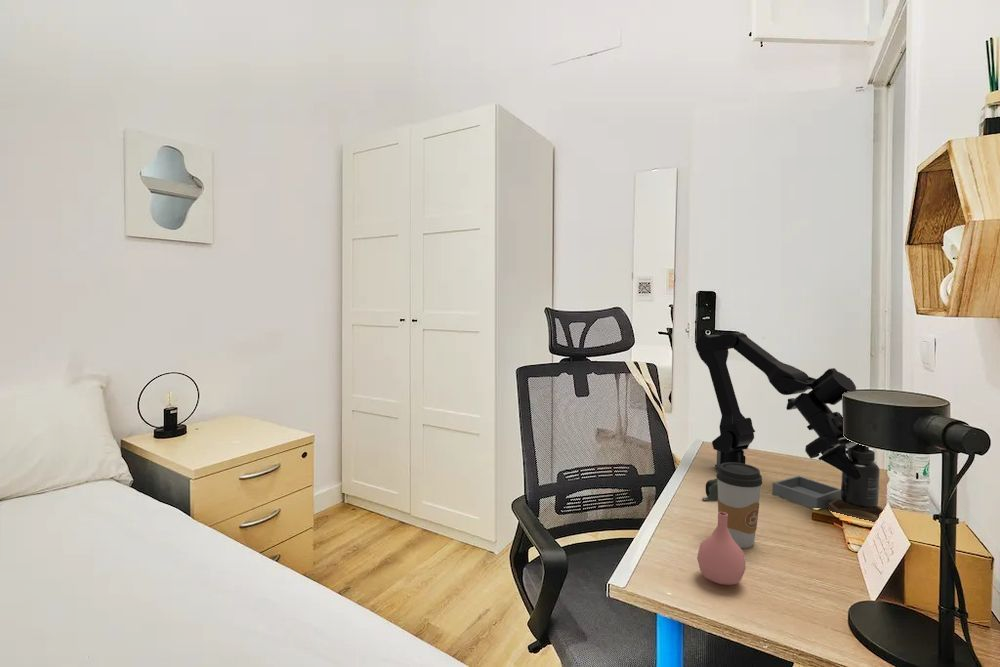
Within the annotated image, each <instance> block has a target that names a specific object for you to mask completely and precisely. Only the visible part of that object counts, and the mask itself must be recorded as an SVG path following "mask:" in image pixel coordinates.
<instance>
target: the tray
mask: <svg viewBox="0 0 1000 667" xmlns="http://www.w3.org/2000/svg"><path fill="white" fill-rule="evenodd" d="M771 494H772V495H773V496H776V497H778V498H781V499H784V500H786V501H789V502H792V503H794V504H797V505H800V506H802V507H805V508H808V509H811V510H813V508H823V509H825V508H828V503H829V502H831V501H832V500H834V499H841V488H838V487H835V486H831V485H829V484H825V483H822V482H819V481H818V480H817V481H816V480H814V479H810V478H807V477H804V476H800V475H795V476H793V477H789V478H785V479H782V480H778V481H774V482H772V493H771Z"/></svg>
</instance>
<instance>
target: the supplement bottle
mask: <svg viewBox="0 0 1000 667" xmlns="http://www.w3.org/2000/svg"><path fill="white" fill-rule="evenodd" d="M847 450H848V455H847V456H848V458H849V459H850V461H851V462H852V464H853V465H854V467H855V468H856V470H857V471H858V473H859V475H860V477H861V478H859V479H857V480H856V479H854V478H852V477H851V476H849V475H847V474H846V473H844V472H842V471H841V480H840V481H841V488H840V489H841V499H842V500H843V501H844V502H845V503H847V504H850V505H853V506H856V507H861V508H874V507H876V506H877V505H878V506H879V495H880V475H881V474H880V473H881V472H880V471H881V470H880V467H879V466H878V465H877V463H876V464H875V463H874V462H873V461H875V459H876V458H875V455H876V454H875V451H872V450H869V449H865V448H856V447H852V448H849V449H847Z"/></svg>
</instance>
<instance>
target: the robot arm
mask: <svg viewBox="0 0 1000 667" xmlns="http://www.w3.org/2000/svg"><path fill="white" fill-rule="evenodd" d="M695 349H696V351H697V355H698V356H699V358H700V360H701V361H702V362H703V363H704V364H705V366H706V367H707V368H708V371H709V375H710V378H711V379H710V380H711V382H712V386H713V389H714V390H713V391H714V393H715V396H716V399H717V403H718V406H719V407H718V408H719V410H720V414H721V418H720V422H719V434H720V435H718V436H717V437H715V438H714V440H712V441H711V444H712V448H713V450H714V451H716V464H714V466H713V467H714V468H716V470H718V469H719V466H720V464H722V463H727V462H735V463H743V464H746V460H747V458H746V456H745V455H744V454H745V451H744V450H748V449H749V446H750V445H751V444H752V443H753V441H754V440H755V433H756V430H755V429H754V426H753V422H752V418H751V417H745V416H744V415H743V414H742V413H741V409H740V406H739V403H738V400H737V396H736V392H735V390H734V389H735V388H734V385H733V382H732V380H731V379H732V378H731V375H730V372H729V369H728V365H727V361H728V357H729V350H731V349H733V350H735V351H736V352H737V353H739V354H740V355H741V356H742V357H744V358H745V359H746V360H747V361H749V362H750V363H751V364H753V365H754V366H755V367H756V368H757V369H759V370H760V371H761V372H762V373H763V374H765V376H766V377H767V380H768V382H769V383H770V384H771V386H772V387H773V388H774V389H775V390H776V391H777V392H778V393H780V394H781V395H783V396H791V395H797V394H799V395H798V396H796V397H795V398H791V397H790V398H788V399H787V404H786V407H785V408H786V410H787V411H790V410H796V409H797V411H798V412H799V413H800V414H801V415H802V417H803V418H804V420H805V421H806V422H807V424H808V425H807V426H806V428H807V429H808V430H809V431H814V432H815V433H816V435H817V436H818V437H817V438H815V439H814V440H812V441H810V442H809V443H808V444H806V445H805V450H804V452H805V453H806V454H807V456H808V457H809V459H815V458H817V459H818V460H819V461H823V462H824V463H827V464H829V465H830V466H832V467H834V468H836V469H837V470H840V472H841V473H842V472H844V473H846V474H847V475H849V476H851V477H852V478H854V479H856V480H857V479H859V478H861V477H860V475H859V473H858V471H857V470H856V468H855V467H854V465H853V464H852V462H851V461H850V459H849V457H848V449H849V448H852V447H856V448H865V449H869V448H870V446H869V447H866V446H862V445H859V444H856V443H854V442H851V441H849V440H847V439H846V438H845V437H844V436H843V417H842V416H843V415H842V414H841V413H840V412H838V411H834V412H833V410H831V408H830V407H829V406H828V405H827V404H829V405H831V406H832V405H833V406H834V405H836V404H838V403H840V402H841V401H843V399H842V394H843V393H844V392H847V391H854V392H856V390H857V386H856V384H855V383H854V381H853V380H852V378H850V377H848V376H847V375H845V374H844V373H842V372H840V371H838V370H837V369H836V368H834V367H833V368H831V367H830V368H827V370H825V371H824V373H823V374H821V375H820V376H819V377H817V378H815V377H811V376H809V375H808V374H807V373H806V372H804V371H803V370H801V369H799V368H797V367H795V366H792V365H790V364H787V363H784V362H783V361H780V360H778V359H777V358H776V357H775V356H773V355H772V354H770V353H769V352H768V351H767V350H765V349H764V348H762V347H761V346H760V345H759V344H758V343H756V342H755V341H753V340H752V339H750V337H748V336H747V334H745V333H744V332H730V333H728V334H724V335H720V334H708V335H701V336H700V337H698V338H697V340H696V342H695ZM808 390H810V391H809V392H807V391H808ZM806 392H807V393H806ZM820 454H821V456H820ZM873 462H874V461H873Z"/></svg>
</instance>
